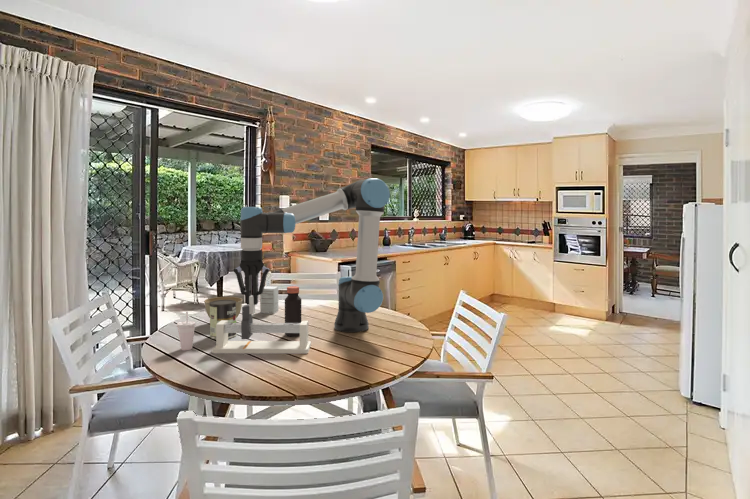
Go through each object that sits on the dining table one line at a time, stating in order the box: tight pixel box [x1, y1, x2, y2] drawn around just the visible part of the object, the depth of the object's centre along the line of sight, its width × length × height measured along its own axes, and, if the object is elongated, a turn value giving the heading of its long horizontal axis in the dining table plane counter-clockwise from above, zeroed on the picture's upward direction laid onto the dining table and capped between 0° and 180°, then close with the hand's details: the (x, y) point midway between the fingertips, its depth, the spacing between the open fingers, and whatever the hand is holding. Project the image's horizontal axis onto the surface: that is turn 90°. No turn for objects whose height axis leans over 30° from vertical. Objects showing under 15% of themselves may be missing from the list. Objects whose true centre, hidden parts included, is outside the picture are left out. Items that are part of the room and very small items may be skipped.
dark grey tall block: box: [240, 304, 254, 340], centre depth 158 cm, size 2×7×11 cm, turn 2°
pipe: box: [224, 322, 300, 334], centre depth 158 cm, size 29×3×3 cm, turn 92°
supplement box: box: [259, 285, 279, 314], centre depth 218 cm, size 7×7×13 cm
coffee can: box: [209, 300, 238, 340], centre depth 174 cm, size 10×10×14 cm
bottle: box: [284, 285, 302, 338], centre depth 177 cm, size 7×7×20 cm
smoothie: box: [176, 310, 197, 351], centre depth 157 cm, size 6×6×14 cm
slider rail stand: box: [211, 320, 312, 354], centre depth 158 cm, size 34×10×10 cm, turn 92°
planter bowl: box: [204, 296, 243, 319], centre depth 194 cm, size 16×16×11 cm
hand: (252, 313), depth 157 cm, fingers closed
